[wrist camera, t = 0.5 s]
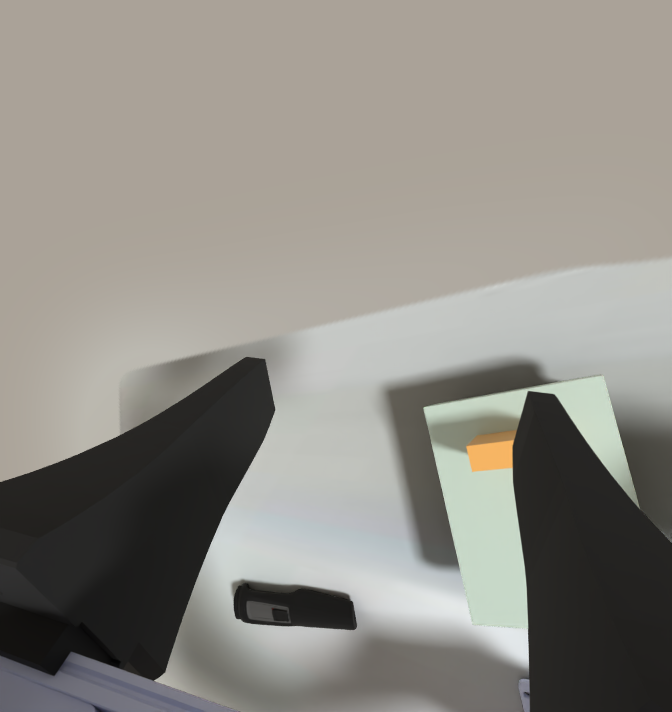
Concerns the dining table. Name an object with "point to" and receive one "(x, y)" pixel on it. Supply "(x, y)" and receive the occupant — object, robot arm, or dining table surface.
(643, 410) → the dining table surface
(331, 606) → the electric trimmer
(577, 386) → the lid
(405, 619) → the dining table surface
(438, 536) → the dining table surface
